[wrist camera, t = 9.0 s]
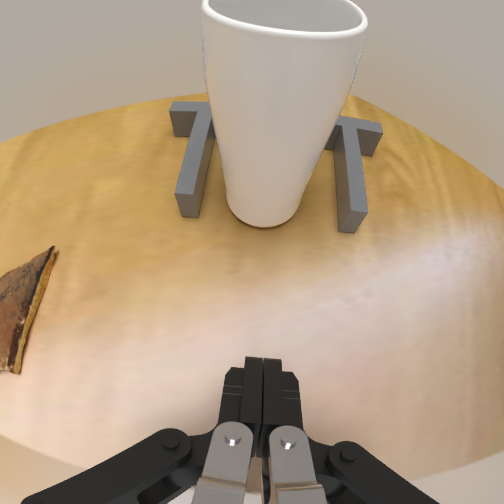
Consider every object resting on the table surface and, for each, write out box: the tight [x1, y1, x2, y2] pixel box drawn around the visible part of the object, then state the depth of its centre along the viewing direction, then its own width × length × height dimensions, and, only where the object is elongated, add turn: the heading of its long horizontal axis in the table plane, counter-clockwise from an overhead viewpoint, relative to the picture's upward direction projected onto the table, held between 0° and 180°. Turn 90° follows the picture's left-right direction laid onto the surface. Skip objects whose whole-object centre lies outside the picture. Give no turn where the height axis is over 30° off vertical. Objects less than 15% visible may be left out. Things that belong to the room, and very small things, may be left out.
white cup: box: [202, 0, 368, 227], centre depth 16 cm, size 7×7×15 cm
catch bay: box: [169, 102, 383, 233], centre depth 23 cm, size 17×9×3 cm, turn 85°
